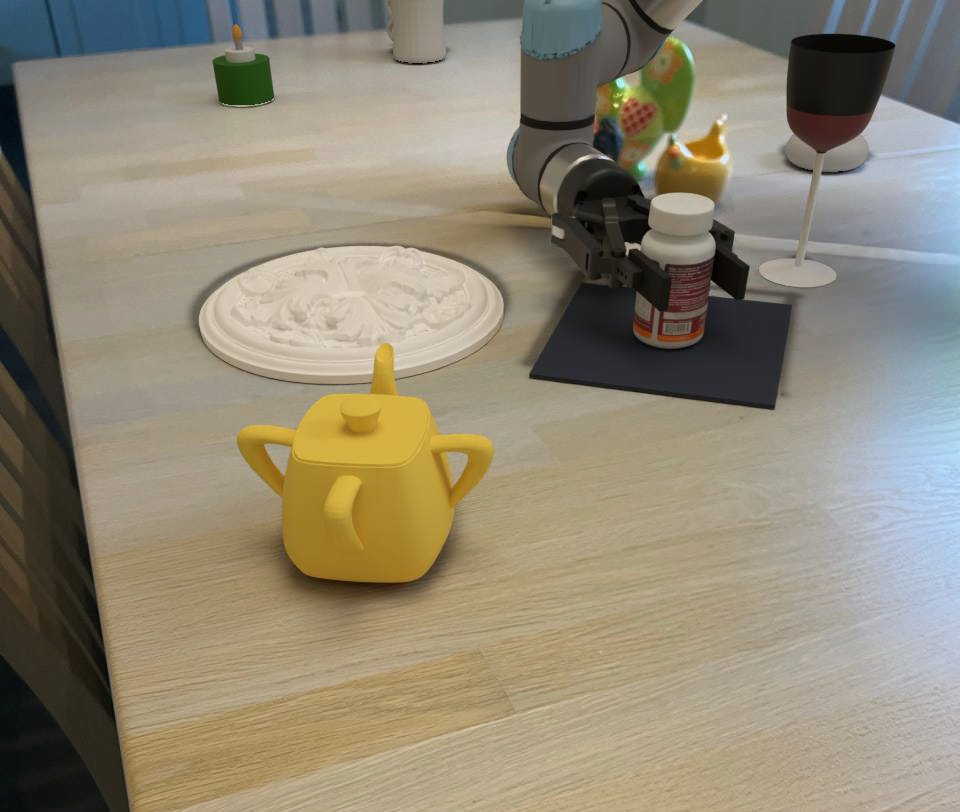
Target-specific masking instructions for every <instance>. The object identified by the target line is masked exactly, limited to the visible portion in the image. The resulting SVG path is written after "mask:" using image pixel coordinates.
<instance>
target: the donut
mask: <svg viewBox="0 0 960 812" xmlns="http://www.w3.org/2000/svg"><path fill="white" fill-rule="evenodd" d="M869 152H870V146H869V142H868V141H867V139H866V138H865V137H864V136H863V135H862V134H860V135H858V136H857V137H856V138H854V139H852V140H851V141H849V142H847V143H845V144H843V145H840V146H838V147H836V148H834V149H831V150H829V151H827V152H826V153H825V157H824V162H823V167H822V172H821V173H839V172H838V171H843V172H847V171H851V170H854V169H856V168H858V167H860V166H861V165H862V164H863V163H864V162H865V161H866V159H867V157H868V156H869ZM816 154H817V152H816V150H814V149H813V148H811V147H810V146H809V145H807V144H806V143H804V142H803V141H801V140H800V139H799V138H798V137H797V136H796V135H795V134H794V133H793V134H792V135H791V136H790V137H789V139H788V140H787V142H786V144H785V155H786V158H787V160H788V161H790V163H792V165H795V166H796V167H798V168H801V169H803V168H804V169H803V170H807V169H808V170H807V171H811V170H814V165H815V160H816Z"/></svg>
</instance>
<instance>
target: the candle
mask: <svg viewBox="0 0 960 812" xmlns="http://www.w3.org/2000/svg"><path fill="white" fill-rule="evenodd" d="M231 36H232V39H233V41H234V46H231V47H227V48H225V49H224V55H220V56H217V57H215V58H214V59H212V66H213V73H214V79H215V85H216V89H217V97H218V102H219V101H220V102H221V103H224V104H228V105H255V104H261V103H265V102H268V101H271V100H272V99H273V98H274V99H275V92H274V84H273V76H272V69H271V62H270V57H269V55H266V54H263V53H255V52H256V51H255V48H254V47H252V46H248V45H246V46H244V45H243V31H242V29H241V27H240V25H238V24H237V23H236V24H234V25H233V26H232V30H231Z"/></svg>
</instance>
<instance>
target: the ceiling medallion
mask: <svg viewBox="0 0 960 812" xmlns="http://www.w3.org/2000/svg"><path fill="white" fill-rule="evenodd" d="M504 305H505V304H504V299H503V295H502V293H501V291H500V290H499V289H498V287H497V286H496V285H495V283H494V282H492V281H491V280H490V279H489V278H488V277H486V276H485V275H484V274H482V273H480V272H478V271H477V270H475V269H473V268H472V267H470V266H468V265H465V264H463V263H461V262H459V261H456V260H454V259H450V258H448V257H444V256H441V255H438V254H434V253H431V252H428V251H423V250H419V249H417V248H415V247H408V248H404V247H403V246H401V245H392V246H382V245H351V246H336V247H326V248H325V247H318V248H316V249H311V250H306V251H302V252H301V251H300V252H296V253H293V254H287V255H285V256H282V257H281V256H280V257H278V258H274V259H271V260H269V261H266V262H264V263H261V264H259V265H256V266H253V267H251V268H249V269H248V270H245V271H243V272H242V273H239V274H238V275H236V276H234V277H232V278H231V279H229V280H228V281H226V282H225V283H223V284H222V285H221V286H220V287H218V288H217V289H216V290H215V291H213V292H212V294H210V296H209V297H207V299H206V300H205V301H204V303H203V305H202V306H201V309H200V311H199V314H198V315H199V316H198V325H199V330H200V335H201V339H202V340H203V343H204V344H205V346H206V347H207V348H208V349H209V350H210V351H211V352H212V353H213V354H214V355H215V356H216V357H218V358H219V359H220V360H222V361H224V362H226V363H227V364H230V365H231V366H233V367H235V368H238V369H240V370H243V371H244V372H248V373H251V374H254V375H258V376H262V377H266V378H271V379H275V380H280V381H287V382H293V383H294V382H295V383H303V384H314V385H315V384H317V385H318V384H319V385H348V384H349V385H351V384H355V385H356V384H366V383H372V378H373V370H374V360H375V354H376V351H377V349H378V348H379V346H380V345H382V344H384V343H389V344H391V346H392V347H393V350H394V376H395V380H397V379H403V378H408V377H411V376H417V375H420V374H424V373H427V372H431V371H434V370H437V369H441V368H444V367H447V366H448V365H451V364H453V363H456V362H458V361H461V360H463V359H465V358H467V357H468V356H470V355H472V354H474V353H475V352H477V351H478V350H480V349H481V348H482V347H484V346H485V345H487V344H488V343H489V342H490V341H491V340H492V339H493V338H494V337H495V335H496V334H497V333H498V331H499V330H500V328H501V326H502V324H503V321H504V311H505V309H504V308H505V306H504Z"/></svg>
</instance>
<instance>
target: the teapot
mask: <svg viewBox="0 0 960 812" xmlns="http://www.w3.org/2000/svg"><path fill="white" fill-rule="evenodd" d="M266 444H268V445H269V444H271V445H279V446H285V447H289V448H290V452H289V455H288V460H287V465H286V469H285V474H284V473H283V472H282V471H281V470H280V469H279V468H278V467H277V465H276V464H275V462H274V461H273V459H272V457H271V456H270V454H269V453H268V451H267V450H266V447H265V445H266ZM236 445H237V448H238V450H239V452H240V454H241V456H242V458H243V459H244V461H245V462H246V463H247V465H248V466H249V467H250V469H251V470H252V471H253V472H254V473H255V474H256V475H257V476H258V477H259V478H260V479H261V480H262V481H263V482H264V483H265V484H266V485H267V486H268V487H269V488H270V489H271V490H273V492H275V493H276V494H277V495H278V496H279V497H280V498H281V526H282V528H281V529H282V540H283V545H284V549H285V551H286V553H287V556H288V557H289V559H290V561H291V562H292V563H293V564H294V566H296V567H297V568H298V570H300V571H301V572H302V574H304V575H306V576H309V577H313V578H318V579H324V580H335V581H343V582H345V581H346V582H357V583H407V582H412V581H416V580H418V579H420V578H421V577H423V576H424V575H425V574H426V573H428V571H429V570H430V569H431V567H432V566H433V565H434V563H435V561H436V560H437V558H438V556H439V554H440V553H441V551H442V549H443V547H444V545H445V543H446V541H447V539H448V536H449V534H450V532H451V530H452V525H453V523H454V522H453V521H454V516H455V507H456V506H457V505H458V504H459V503H460V502H461V501H462V500H463V499H464V498H466V496H468V494H469V493H470V492H471V491H472V490H474V488H475V487H476V486H477V485H478V484H479V483H480V482H481V480H482V479H483V478H484V476H485V475H487V473H488V471H489V469H490V468H491V465H492V463H493V459H494V458H495V457H494V456H495V448H494V443H492V441H491V440H490V439H489V438H487V437H485V436H483V435H479V434H473V433H451V434H450V433H449V434H441V433H440V430H439V428H438V425H437V422H436V420H435V418H434V415H433V413H432V411H431V409H430V407H429V405H428V404H427V402H425V401H424V400H423V399H422V398H419V397H414V396H406V395H399V392H398V388H397V382H396V379H395V376H394V350H393V347H392V346H391V344H389V343H384V344H382V345H380V346H379V348H378V349H377V351H376V354H375V360H374V370H373V378H372V382H371V384H370V392H369V393H331V394H327V395H324V396H322V397H320V398H319V399H318V400H316V402H314V403H313V404H312V406H310V407H309V409H308V410H307V412H306V413H305V414H304V416H303V418H302V419H301V421H300V422H299V424H298V426H297V428H296V429H293V428H290V427H289V428H288V427H283V426H276V425H270V424H269V425H267V424H252V425H248V426H245V427H243V428H242V429H240V431H238V433H237V435H236ZM448 453H462V454H464V455H466V456H467V462H466V465H465V467H464V469H463V471H462V472H461V475H460V477H459V478H458V479H457V481H456V482H455V484H454V483H453V475H452V471H451V465H450V461H449V457H448Z"/></svg>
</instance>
